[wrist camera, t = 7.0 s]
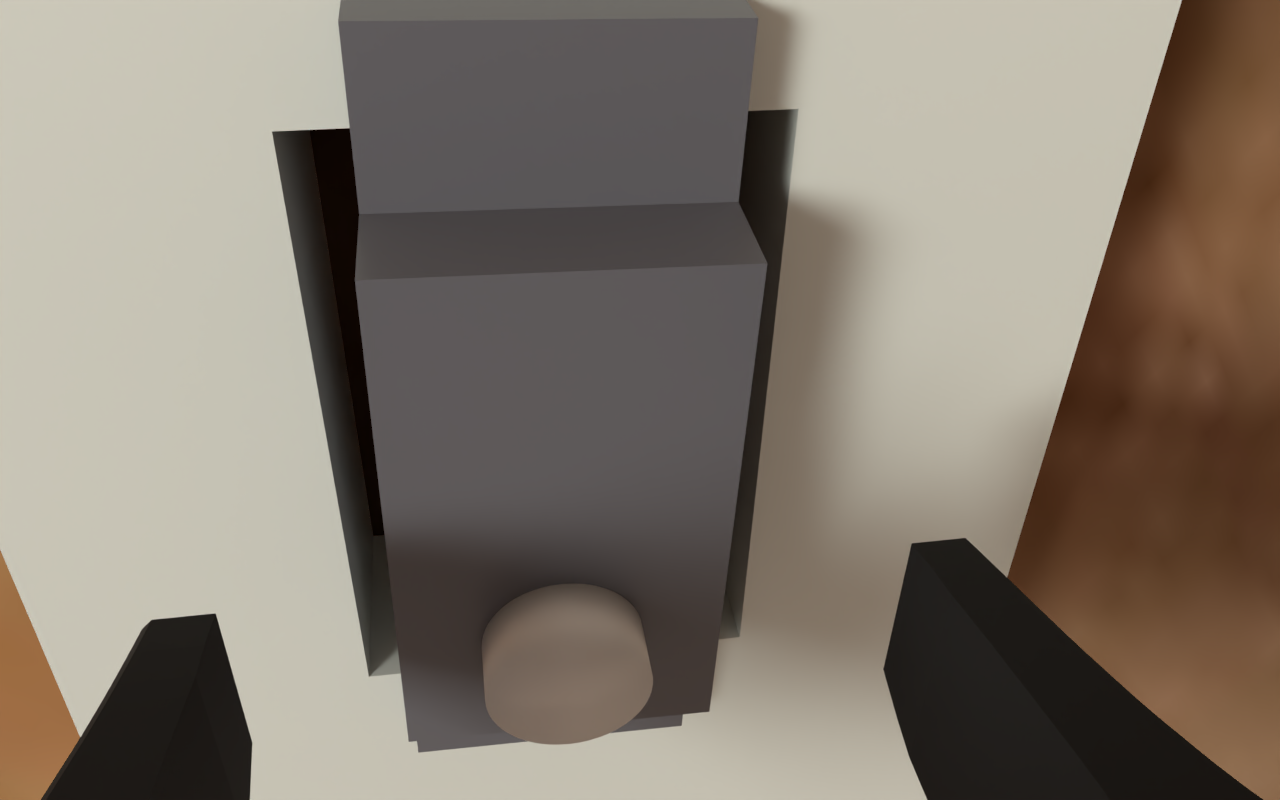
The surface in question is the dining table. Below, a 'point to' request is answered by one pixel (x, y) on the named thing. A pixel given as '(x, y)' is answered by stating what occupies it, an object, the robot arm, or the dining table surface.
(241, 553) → the chassis
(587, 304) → the block
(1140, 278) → the dining table surface
